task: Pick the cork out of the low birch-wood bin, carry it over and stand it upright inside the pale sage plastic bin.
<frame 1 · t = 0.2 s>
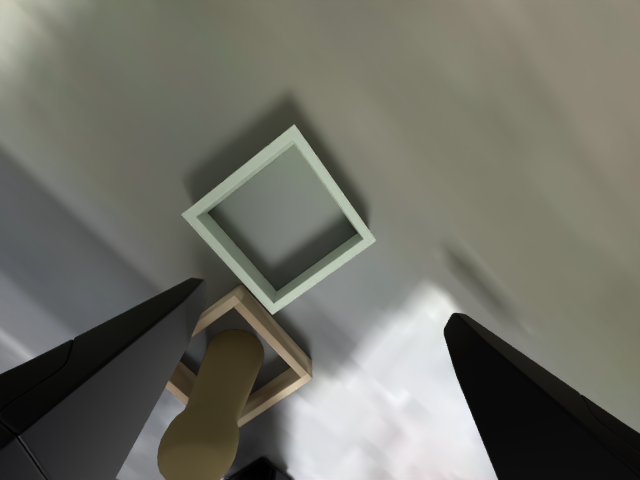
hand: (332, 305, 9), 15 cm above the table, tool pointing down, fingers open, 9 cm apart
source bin: (235, 354, 26), on the table
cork: (236, 352, 27), resting in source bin
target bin: (284, 223, 23), on the table
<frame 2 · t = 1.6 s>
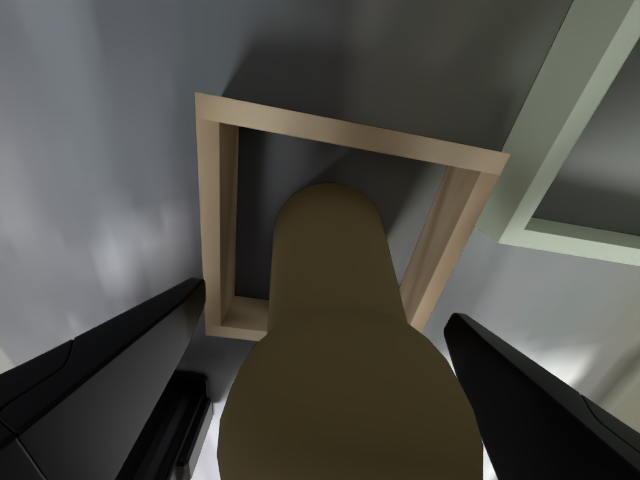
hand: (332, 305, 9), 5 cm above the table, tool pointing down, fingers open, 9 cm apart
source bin: (328, 237, 14), on the table
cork: (328, 235, 14), resting in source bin
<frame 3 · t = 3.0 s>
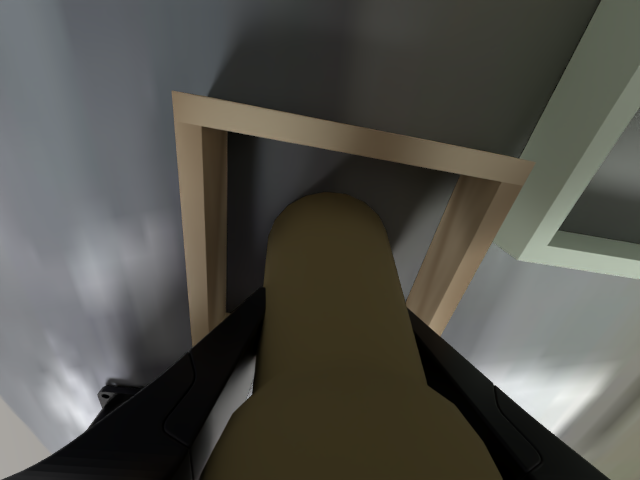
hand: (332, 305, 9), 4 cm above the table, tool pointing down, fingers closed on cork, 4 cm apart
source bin: (327, 250, 12), on the table
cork: (327, 248, 13), resting in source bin, touching gripper
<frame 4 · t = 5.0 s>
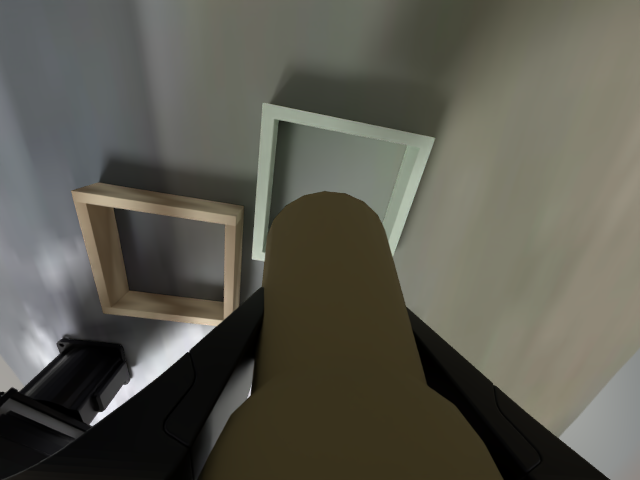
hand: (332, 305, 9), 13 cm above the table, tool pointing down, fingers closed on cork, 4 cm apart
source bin: (178, 254, 23), on the table
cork: (326, 248, 13), point 9 cm above the table, touching gripper
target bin: (331, 195, 21), on the table
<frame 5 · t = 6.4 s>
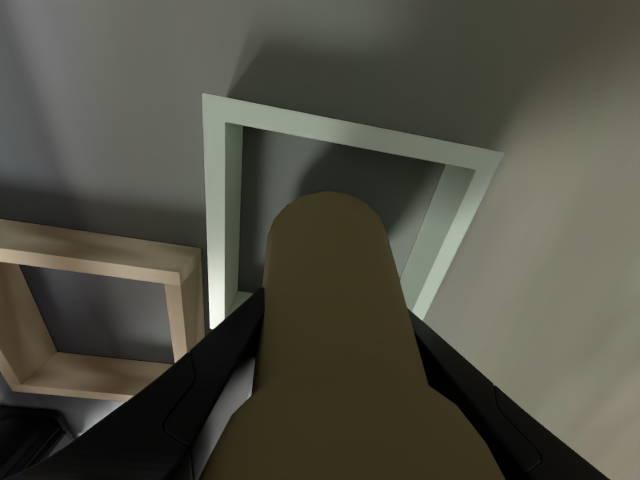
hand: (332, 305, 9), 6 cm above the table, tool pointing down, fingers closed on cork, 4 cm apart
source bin: (115, 310, 17), on the table
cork: (327, 248, 13), point 2 cm above the table, touching gripper
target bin: (329, 233, 14), on the table
when the fingers open (5 cm above the table, at t = 7.4 s): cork stays where it is, resting in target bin.
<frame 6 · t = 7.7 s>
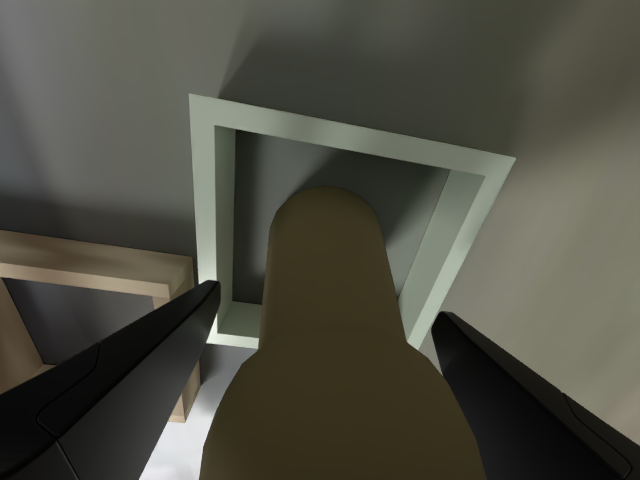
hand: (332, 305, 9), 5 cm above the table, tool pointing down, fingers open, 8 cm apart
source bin: (103, 321, 16), on the table
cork: (325, 239, 14), resting in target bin
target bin: (327, 241, 13), on the table
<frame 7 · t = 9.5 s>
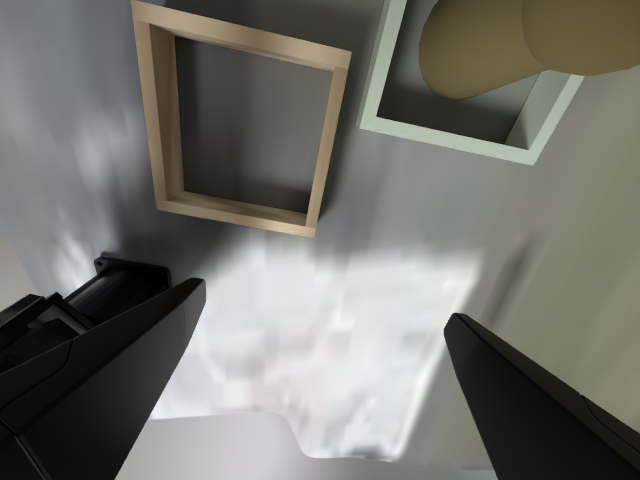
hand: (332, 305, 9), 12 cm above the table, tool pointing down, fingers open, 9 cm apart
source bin: (250, 138, 18), on the table
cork: (466, 44, 15), resting in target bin
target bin: (471, 43, 15), on the table
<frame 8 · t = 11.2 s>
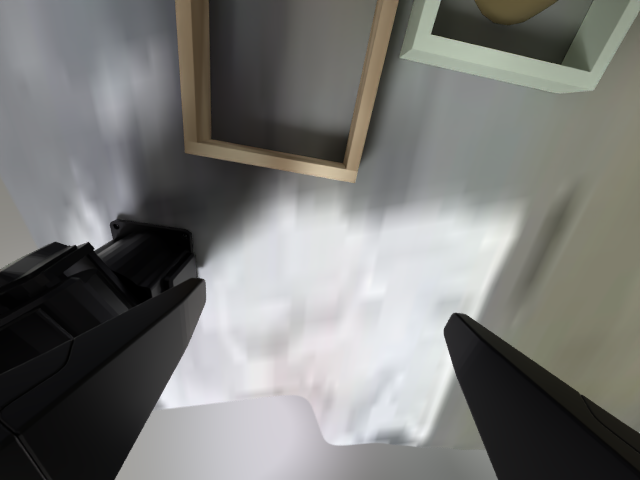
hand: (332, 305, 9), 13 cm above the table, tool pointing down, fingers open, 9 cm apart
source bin: (286, 74, 17), on the table
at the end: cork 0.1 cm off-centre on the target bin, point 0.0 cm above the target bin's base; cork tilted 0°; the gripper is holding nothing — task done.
